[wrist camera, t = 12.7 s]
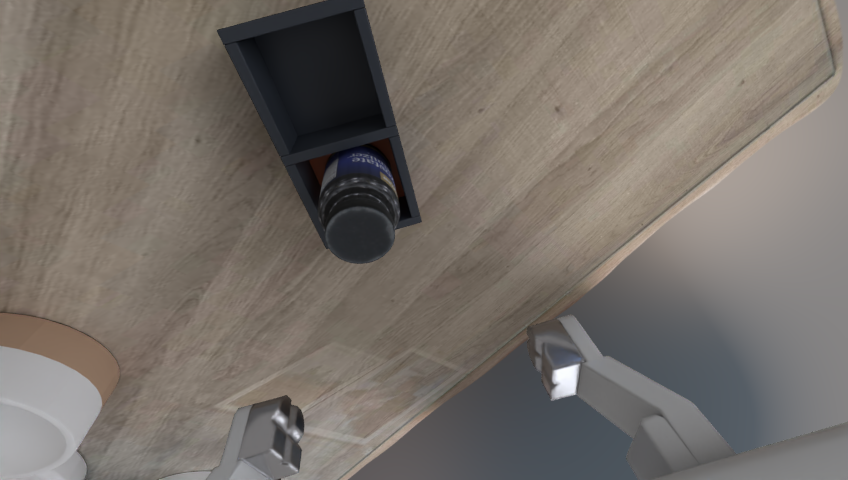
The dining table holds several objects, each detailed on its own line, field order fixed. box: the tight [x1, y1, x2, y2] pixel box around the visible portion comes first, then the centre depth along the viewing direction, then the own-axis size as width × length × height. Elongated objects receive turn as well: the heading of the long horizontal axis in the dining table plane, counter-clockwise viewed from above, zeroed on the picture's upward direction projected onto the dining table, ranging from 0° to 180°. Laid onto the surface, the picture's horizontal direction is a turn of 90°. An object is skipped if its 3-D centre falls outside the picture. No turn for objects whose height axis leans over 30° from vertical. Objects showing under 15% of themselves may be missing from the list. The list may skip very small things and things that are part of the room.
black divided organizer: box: [217, 0, 422, 249], centre depth 27 cm, size 17×9×5 cm, turn 12°
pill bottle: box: [318, 144, 400, 264], centre depth 27 cm, size 6×6×11 cm
